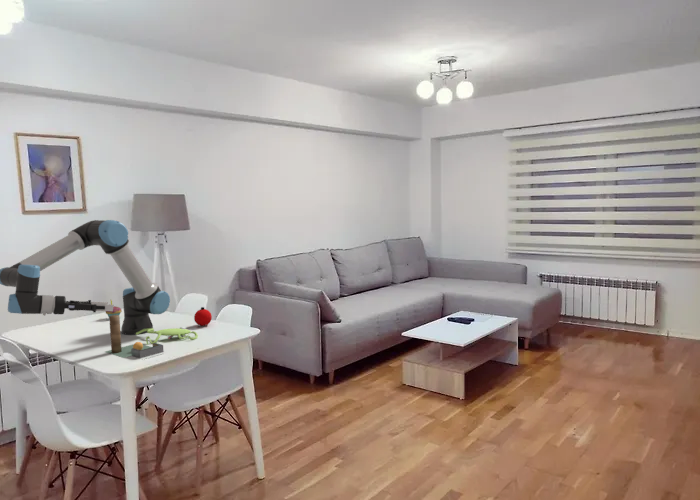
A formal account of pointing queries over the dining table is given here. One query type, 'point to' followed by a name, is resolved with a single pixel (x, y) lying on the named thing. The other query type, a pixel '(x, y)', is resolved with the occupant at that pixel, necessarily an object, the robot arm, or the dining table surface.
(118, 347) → the peg
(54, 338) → the dining table surface
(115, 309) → the cupcake
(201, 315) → the ornament
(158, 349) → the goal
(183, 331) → the figurine
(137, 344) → the ball
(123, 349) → the mat
